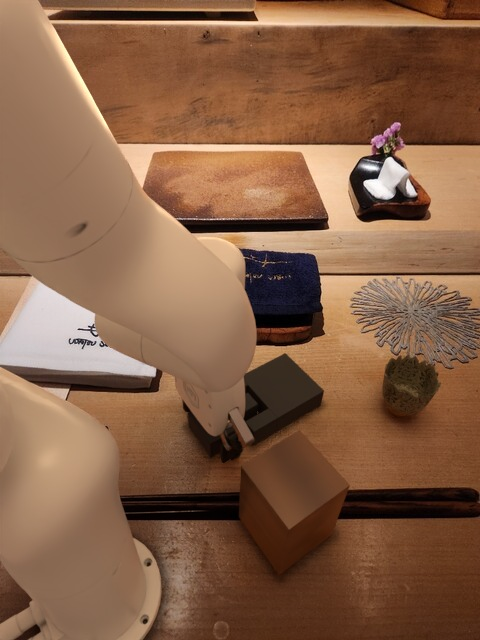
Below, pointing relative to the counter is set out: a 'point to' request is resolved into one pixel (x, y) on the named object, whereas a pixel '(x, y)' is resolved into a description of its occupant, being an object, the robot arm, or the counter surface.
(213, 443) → the small pad
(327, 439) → the counter surface
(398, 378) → the cup
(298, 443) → the block
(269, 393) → the base pad
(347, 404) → the counter surface
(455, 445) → the counter surface
